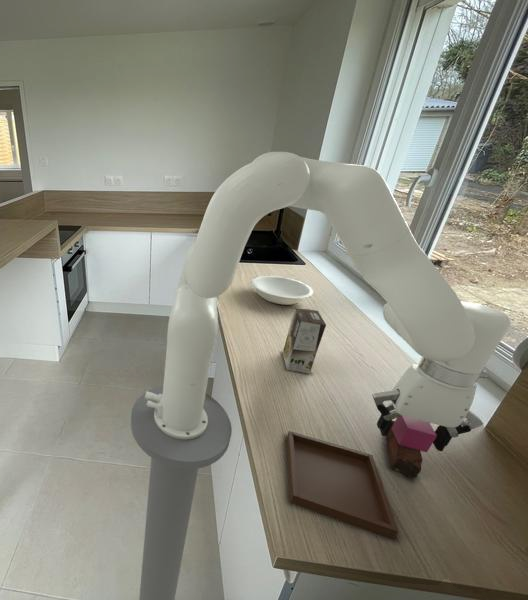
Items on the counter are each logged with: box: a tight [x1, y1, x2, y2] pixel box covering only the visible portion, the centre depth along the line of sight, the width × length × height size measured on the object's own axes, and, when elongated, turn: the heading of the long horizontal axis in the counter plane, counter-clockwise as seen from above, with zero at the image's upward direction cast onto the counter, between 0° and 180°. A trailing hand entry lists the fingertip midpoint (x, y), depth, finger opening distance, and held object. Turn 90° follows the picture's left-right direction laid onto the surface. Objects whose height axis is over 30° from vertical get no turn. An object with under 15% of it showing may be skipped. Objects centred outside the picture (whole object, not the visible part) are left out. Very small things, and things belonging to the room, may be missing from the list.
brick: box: [385, 420, 423, 479], centre depth 66 cm, size 11×4×5 cm, turn 150°
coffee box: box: [282, 307, 327, 374], centre depth 93 cm, size 9×6×16 cm
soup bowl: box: [250, 274, 314, 306], centre depth 135 cm, size 24×24×7 cm
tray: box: [286, 430, 399, 540], centre depth 61 cm, size 16×16×2 cm
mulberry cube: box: [392, 416, 437, 453], centre depth 64 cm, size 5×5×5 cm
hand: (408, 437), depth 65 cm, fingers open, 8 cm apart
